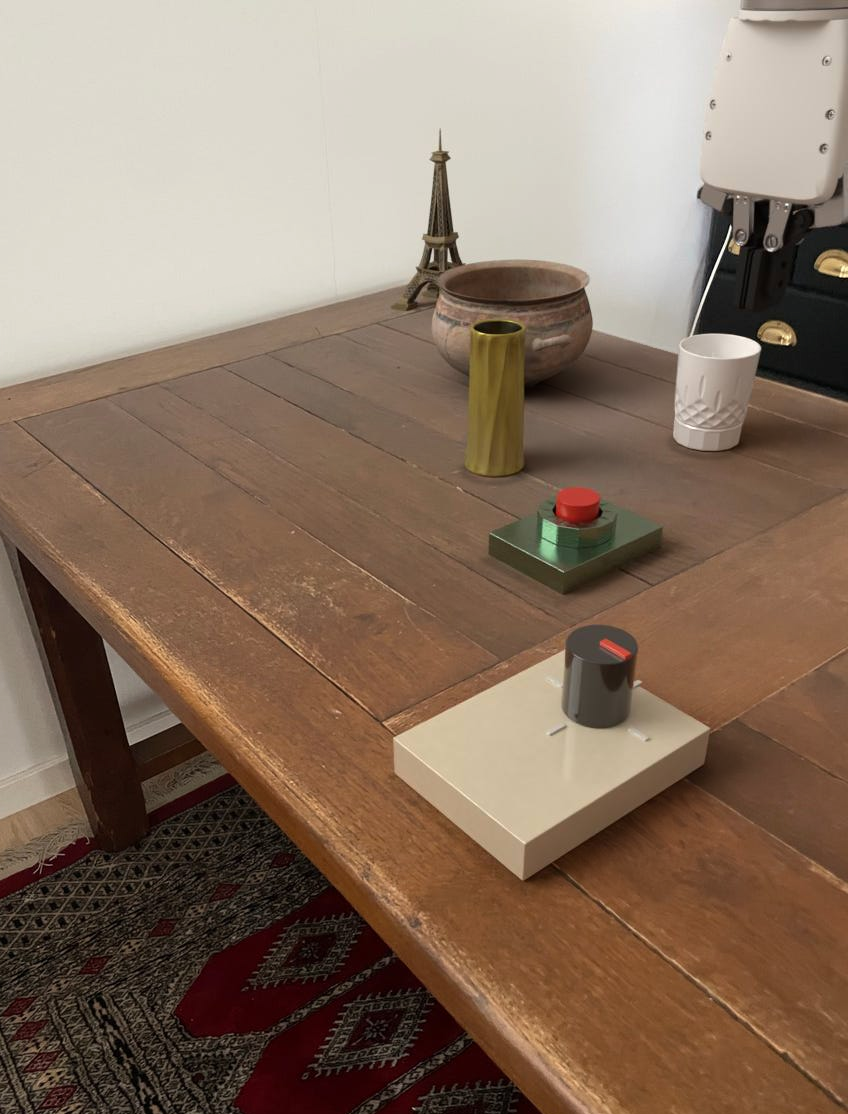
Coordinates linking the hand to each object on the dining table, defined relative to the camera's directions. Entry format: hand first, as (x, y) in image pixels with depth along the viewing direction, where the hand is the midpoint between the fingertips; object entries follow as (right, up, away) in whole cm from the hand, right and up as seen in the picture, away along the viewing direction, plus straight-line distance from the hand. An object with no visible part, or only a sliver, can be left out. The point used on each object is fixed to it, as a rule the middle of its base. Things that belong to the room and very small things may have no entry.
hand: (756, 305), depth 70 cm
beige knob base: (-15, -31, -4) cm, 35 cm away
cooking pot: (-9, +9, +55) cm, 57 cm away
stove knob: (-12, -27, -4) cm, 30 cm away
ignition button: (-9, -12, +18) cm, 23 cm away
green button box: (-9, -15, +20) cm, 26 cm away
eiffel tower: (-16, +27, +84) cm, 89 cm away
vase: (-14, -5, +35) cm, 38 cm away
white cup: (+9, -2, +38) cm, 40 cm away
